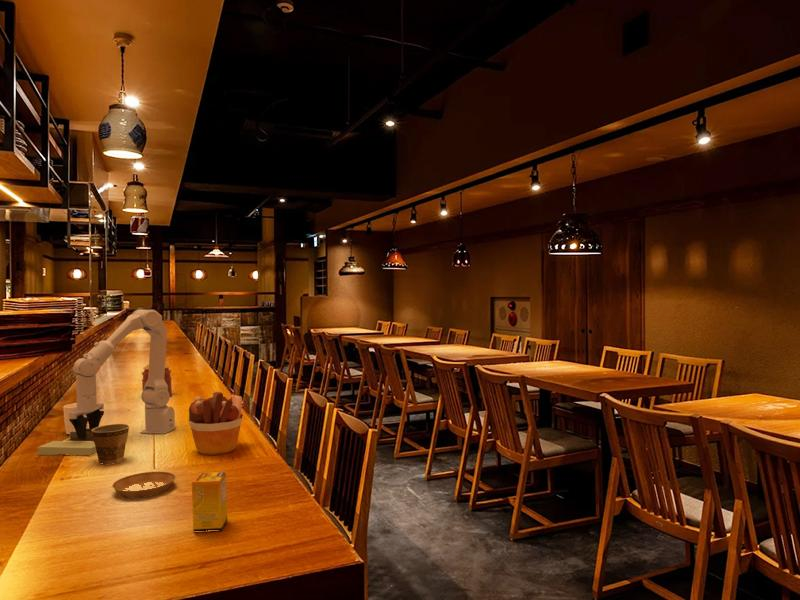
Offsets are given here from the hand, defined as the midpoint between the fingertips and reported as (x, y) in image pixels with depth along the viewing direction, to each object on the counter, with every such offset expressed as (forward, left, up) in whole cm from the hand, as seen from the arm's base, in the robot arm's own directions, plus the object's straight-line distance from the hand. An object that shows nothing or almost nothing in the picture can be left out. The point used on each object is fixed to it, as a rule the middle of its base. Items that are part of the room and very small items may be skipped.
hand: (87, 435), depth 186 cm
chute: (0, 0, -4) cm, 4 cm away
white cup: (+15, -15, -3) cm, 21 cm away
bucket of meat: (-46, +3, -3) cm, 46 cm away
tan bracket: (0, +4, -3) cm, 5 cm away
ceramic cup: (-17, +15, -3) cm, 23 cm away
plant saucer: (-42, +37, -4) cm, 56 cm away
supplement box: (-69, +57, -3) cm, 90 cm away
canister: (+21, -79, -3) cm, 82 cm away
